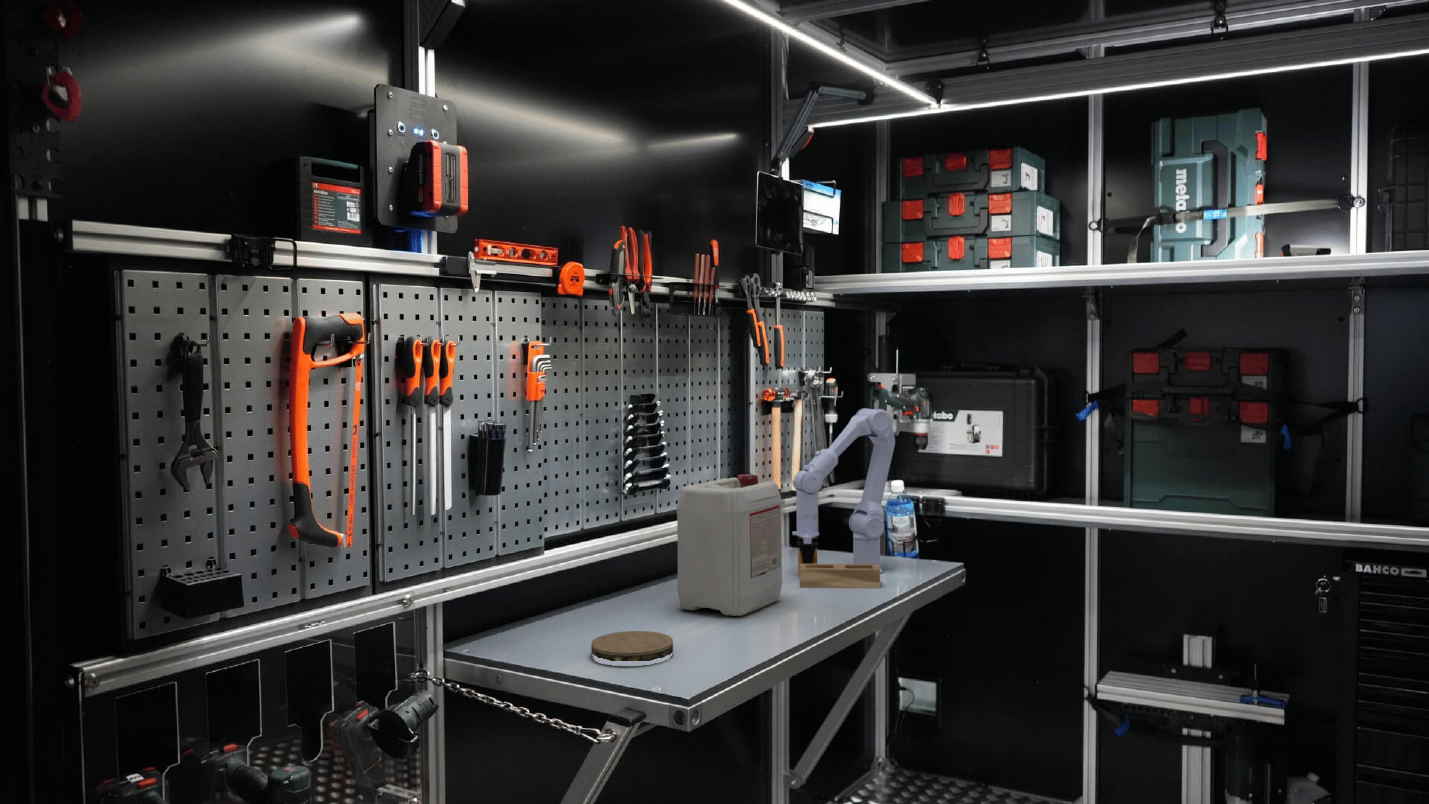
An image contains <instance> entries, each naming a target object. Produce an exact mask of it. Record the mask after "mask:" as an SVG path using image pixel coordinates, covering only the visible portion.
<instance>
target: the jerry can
mask: <svg viewBox="0 0 1429 804" xmlns="http://www.w3.org/2000/svg"><path fill="white" fill-rule="evenodd" d="M778 485H779V484H778V483H776V481H774V480H768V481H764V482H759V478H758V475H757V474H738V475H737V477H729V478H725V477H722V478H720V479H717V480H712V481H711V480H709V481H707V482H706V481H705V482H701V483H695V484H687V485H686V486H682V487H681V488H680V491H679V496H678V500H677V504H676V514H677V515H676V517H677V526H676V529H677V533H676V534H677V588H676V590H677V595H678V599H679V604H680V605H679V606H680V607H681V609H683V610H686V611H692V612H693V611H698V610H699V609H705V608H707V609H710V610H718V611H720V612H721V614H723V615H724V616H732V617H741V616H744V615H747V614H749V613H752V612H755V611H756V610H759V609H761V608H763V607H764V608H765V607H767V606H768V605H771V604H772V603H775V602H777V601H779V600H780V597H781V592H782V585H783V564H782V559H783V553H782V551H783V544H782V543H783V542H782V541H783V539H782V537H783V536H782V533H783V531H782V529H783V528H782V527H783V526H782V525H783V521H782V518H783V517H782V513H783V512H782V511H783V510H782V508H783V507H782V504H783V500H782V497H781V493H780V490H779V486H778Z"/></svg>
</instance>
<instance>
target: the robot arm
mask: <svg viewBox="0 0 1429 804" xmlns="http://www.w3.org/2000/svg"><path fill="white" fill-rule="evenodd" d="M893 424H894V419H893V418H892V417H891V415H890V414H889V412H888V411H886V410H884V409H883V408H878V409H875V408H867V407H866V408H865V407H864V408H861V409H859V410H858V411H857V412H856V413H855V415H853V416H852V417H851V418H850V420H849V422H848V424H847V425H846V426H845V428H844V429H843V430H842V431H841V433H839V435H838V436H837V438H835V440H834V441H833V442H832V443H831V444H830V446H828V448H821V449H820V450H817V451H815V453H814V455H815V456H814V457H813V458H812V459H811V461H810V462H809V463H808V464H805V465H804V466H803V469H804V470H800V471H798V472H797V473H796V474H795V475H794V479H793V480H792V482H791V483H792V485H793V488H794V489H795V490H796V491H795V494H796V501H795V502H796V503H795V504H796V505H795V507H796V508H795V509H796V531H792V536H796V537H797V539H796V540H797V541H796V545H797V547H798V549H800V552H801V556H802V562H803V564H813V559H814V554H815V550H816V549H818V548H817V547H818V546H819V542H818V541H819V536H820V532H819V496H818V495H819V494H818V493H819V490H821V488H822V485H823V481H824V480H825V479H826V477H827V476H828V475H829V474H830V473H831V472H832V470H834V468H835V467H836V466H837V465H838V463H839V456H840V455H841V454H843V452H845V450H846V449H847V448H848V447H849V446H851V444H853V442H854V441H855V440H857V438H859V437H863V436H868V438H869V440H870V441H871V442H872V444H873V448H872V453H871V457H870V461H869V466H868V470H867V474H866V480H865V483H864V487H863V492H862V496H861V500H860V501H859V503H857V504H856V505H855V507H854V511H853V513H852V514H851V515H850V517H849V520H848V526H849V529H850V531H852V533H853V535H852V538H853V540H852V542H853V544H852V545H853V547H852V548H853V549H852V551H853V552H852V553H853V563H852V564H878V566H879V569H880V574H883V572H884V571H883V569H882V567H881V535H882V534H883V533H884V530H885V523H884V518H885V517H884V516H885V512H884V509H883V507H882V502H883V497H884V493H885V489H886V484H887V480H888V477H889V476H888V475H889V471H890V467H891V463H892V458H893V455H894V449H895V446H896V438H895V434H894V429H893Z"/></svg>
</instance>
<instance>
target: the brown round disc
mask: <svg viewBox="0 0 1429 804" xmlns="http://www.w3.org/2000/svg"><path fill="white" fill-rule="evenodd" d="M590 652H591V655H592V654H593V655H595V656H597V657H598V658H603V659H607V660H610V661H651V660H654V659H657V658H663V657H665V656H667V655H670V654H671V653H672V652H673V653H674V638H673V637H671V635H668V634H665V633H662V632H655V631H649V630H648V631H647V630H627V631H620V632H619V631H617V632H613V633H612V632H611V633H607V634H603V635H601V636H598V637H596V638H594V639H593V640H592V642H591V651H590Z"/></svg>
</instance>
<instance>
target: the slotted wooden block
mask: <svg viewBox="0 0 1429 804" xmlns="http://www.w3.org/2000/svg"><path fill="white" fill-rule="evenodd" d="M799 588H813V589H814V588H818V589H819V588H826V589H827V588H829V589H830V588H831V589H832V588H834V589H836V588H838V589H839V588H842V589H849V588H850V589H852V588H853V589H854V588H855V589H856V588H857V589H881V573H880V569H879V566H878V564H853V563H817V564H800V576H799Z"/></svg>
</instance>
